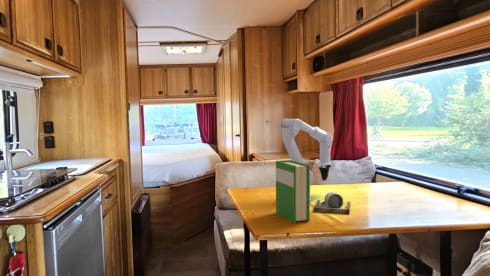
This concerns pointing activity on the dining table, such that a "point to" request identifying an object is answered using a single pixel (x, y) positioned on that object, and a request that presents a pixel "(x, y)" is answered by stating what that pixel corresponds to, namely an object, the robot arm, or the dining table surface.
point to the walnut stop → (331, 209)
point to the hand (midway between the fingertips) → (324, 178)
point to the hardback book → (293, 190)
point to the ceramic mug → (332, 200)
